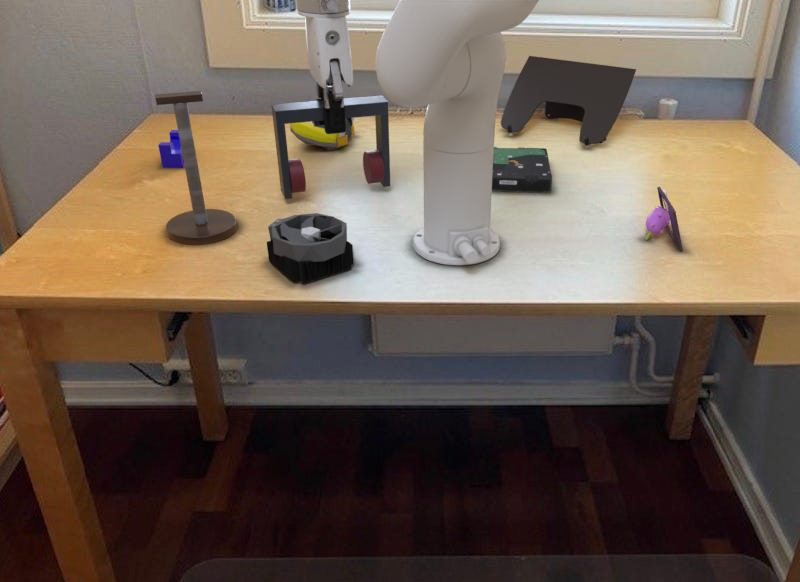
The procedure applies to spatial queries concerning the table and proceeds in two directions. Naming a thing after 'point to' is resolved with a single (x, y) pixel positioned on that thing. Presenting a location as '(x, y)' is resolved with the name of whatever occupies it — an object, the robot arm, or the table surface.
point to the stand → (194, 185)
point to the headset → (286, 113)
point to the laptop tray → (569, 95)
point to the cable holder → (171, 152)
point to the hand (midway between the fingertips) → (332, 127)
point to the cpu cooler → (309, 247)
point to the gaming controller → (322, 134)
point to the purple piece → (663, 219)
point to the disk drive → (521, 170)
